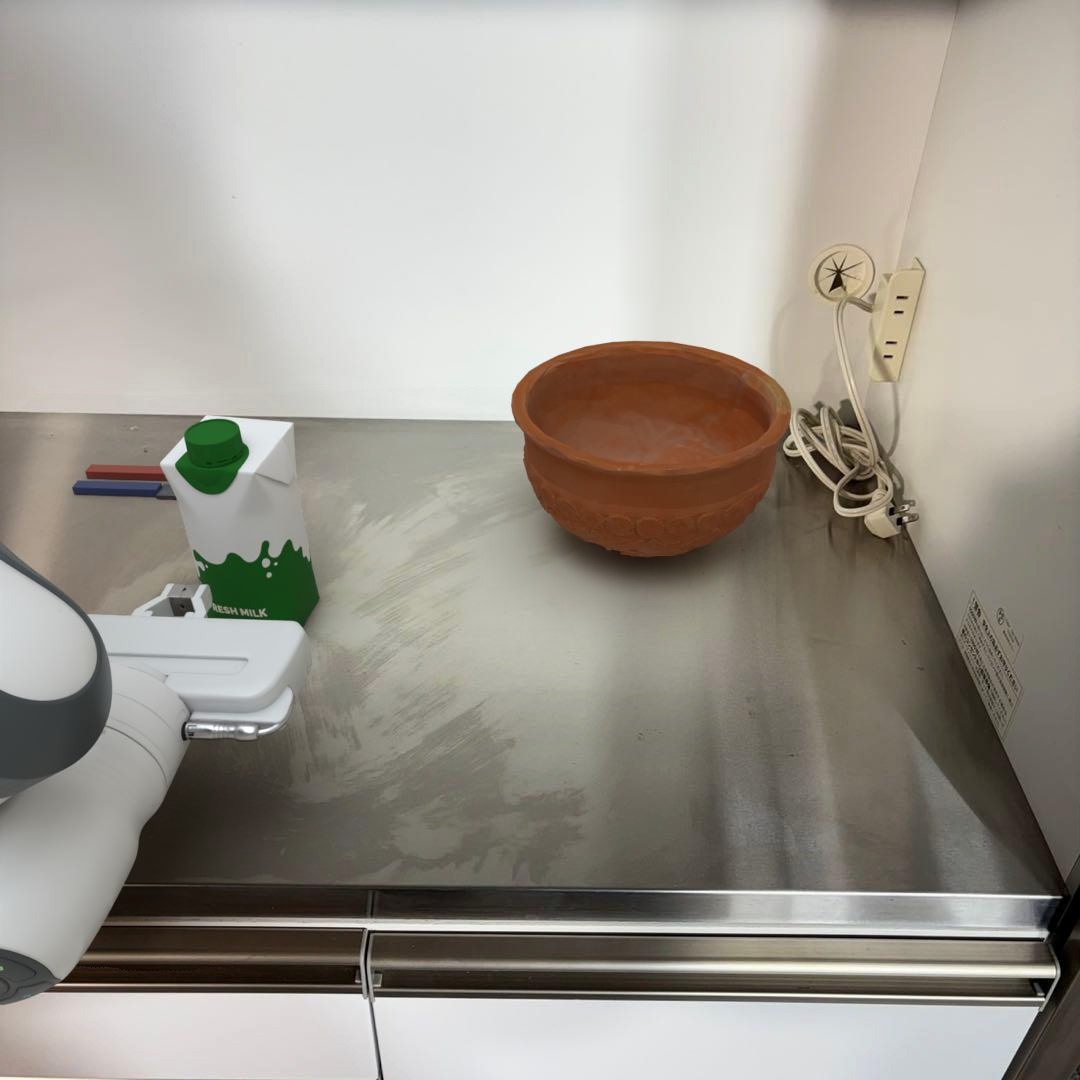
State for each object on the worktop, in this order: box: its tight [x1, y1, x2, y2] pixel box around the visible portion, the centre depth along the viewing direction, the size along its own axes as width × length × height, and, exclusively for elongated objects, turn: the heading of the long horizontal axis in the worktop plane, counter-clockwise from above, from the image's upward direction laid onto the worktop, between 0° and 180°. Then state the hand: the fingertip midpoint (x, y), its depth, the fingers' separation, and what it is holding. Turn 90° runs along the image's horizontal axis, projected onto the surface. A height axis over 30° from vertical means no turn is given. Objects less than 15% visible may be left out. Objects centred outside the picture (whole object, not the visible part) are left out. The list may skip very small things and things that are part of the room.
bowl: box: [510, 340, 792, 558], centre depth 91 cm, size 25×25×15 cm
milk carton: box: [159, 414, 320, 629], centre depth 79 cm, size 9×9×20 cm
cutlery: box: [71, 464, 177, 500], centre depth 102 cm, size 18×5×1 cm, turn 87°
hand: (191, 591), depth 70 cm, fingers closed
